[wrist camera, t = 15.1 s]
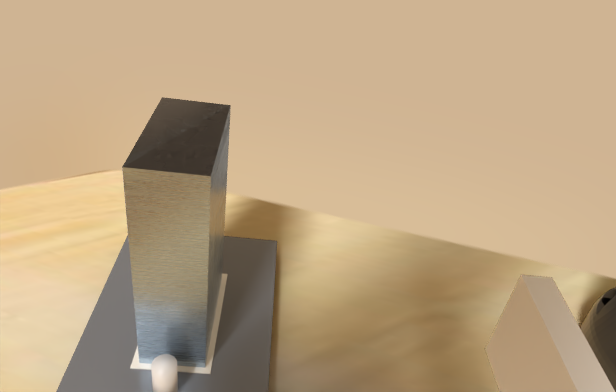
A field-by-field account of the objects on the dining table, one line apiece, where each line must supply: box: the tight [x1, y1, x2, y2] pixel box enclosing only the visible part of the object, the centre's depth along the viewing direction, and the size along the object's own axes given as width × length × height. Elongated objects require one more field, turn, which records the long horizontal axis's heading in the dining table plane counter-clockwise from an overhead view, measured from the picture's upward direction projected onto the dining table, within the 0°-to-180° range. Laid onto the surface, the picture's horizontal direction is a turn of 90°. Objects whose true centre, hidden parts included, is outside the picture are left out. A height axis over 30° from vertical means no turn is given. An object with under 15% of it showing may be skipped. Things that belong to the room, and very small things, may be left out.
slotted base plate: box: [56, 236, 277, 392], centre depth 34 cm, size 12×18×4 cm, turn 0°
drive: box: [122, 98, 230, 368], centre depth 30 cm, size 4×8×14 cm, turn 0°
